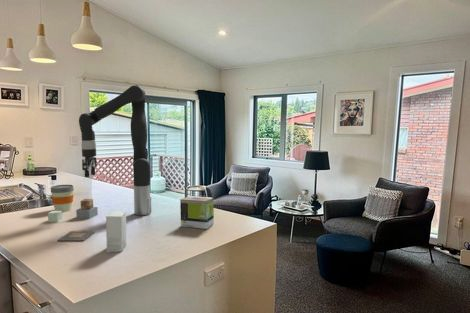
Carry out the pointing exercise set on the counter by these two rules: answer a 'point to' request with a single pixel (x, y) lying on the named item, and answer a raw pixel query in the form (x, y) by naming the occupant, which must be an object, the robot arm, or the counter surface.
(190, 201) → the tea box
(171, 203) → the counter surface
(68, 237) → the card
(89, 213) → the slate block
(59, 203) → the reusable coffee cup
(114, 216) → the skincare box
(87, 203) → the walnut block
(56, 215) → the sage green block
